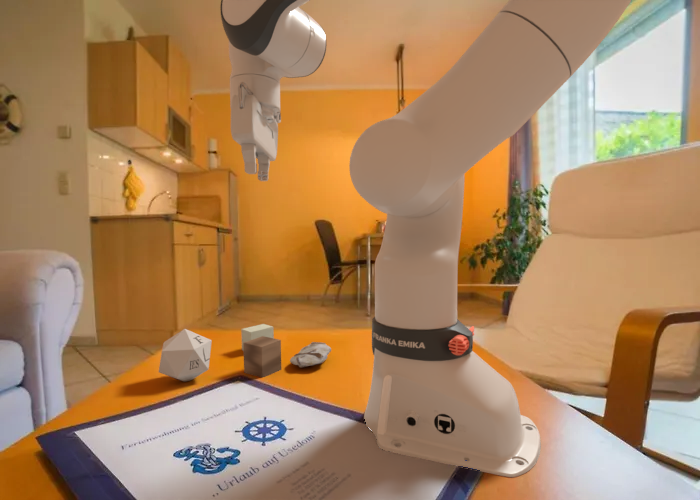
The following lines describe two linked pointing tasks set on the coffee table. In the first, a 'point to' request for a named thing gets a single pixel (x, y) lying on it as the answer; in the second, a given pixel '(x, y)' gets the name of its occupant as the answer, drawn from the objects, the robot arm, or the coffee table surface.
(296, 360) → the stone
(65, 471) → the coffee table surface
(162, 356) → the die
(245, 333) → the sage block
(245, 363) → the walnut block
